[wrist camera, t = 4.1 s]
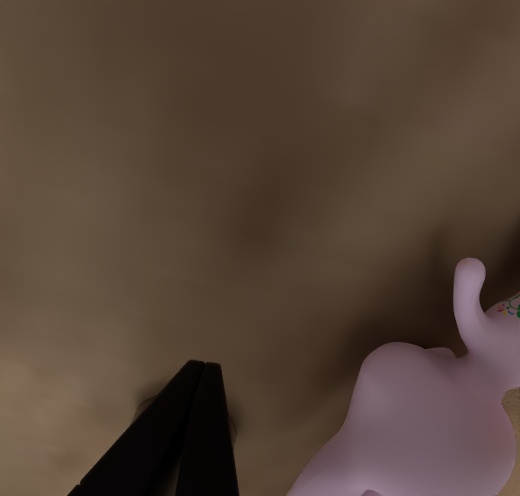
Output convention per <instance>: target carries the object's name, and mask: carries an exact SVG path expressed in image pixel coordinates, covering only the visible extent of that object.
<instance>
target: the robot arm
mask: <svg viewBox="0 0 520 496" xmlns="http://www.w3.org/2000/svg"><path fill="white" fill-rule="evenodd" d="M67 496H240V495H239V488H238V481H237V474H236V467H235V460H234V453H233V446H232V439H231V432H230V425H229V418H228V411H227V404H226V397H225V390H224V383H223V376H222V369H221V365H220V364H219V363H212V362H206V363H204V362H203V361H198V360H189V361H188V362H187V363H186V364H185V365H184V366H183V367H182V368H181V369H180V371H179V372H178V373H177V374H176V375H175V376H174V377H173V378H172V379H171V381H170V382H169V383H168V384H167V385H166V386H165V387H164V388H163V390H162V391H161V392H160V393H159V394H158V395H157V396H156V397H155V398H154V400H153V401H152V402H151V403H150V404H149V405H148V406H147V407H146V408H145V410H144V411H143V412H142V413H141V414H140V415H139V416H138V417H137V418H136V420H135V421H134V422H133V423H132V424H131V425H130V426H129V427H128V429H127V430H126V431H125V432H124V433H123V434H122V435H121V436H120V437H119V439H118V440H117V441H116V442H115V443H114V444H113V445H112V446H111V447H110V449H109V450H108V451H107V452H106V453H105V454H104V455H103V456H102V457H101V459H100V460H99V461H98V462H97V463H96V464H95V465H94V466H93V468H92V469H91V470H90V471H89V472H88V473H87V474H86V475H85V476H84V478H83V479H82V480H81V481H80V485H79V484H78V485H76V486H75V487H74V488H73V490H72V491H71V492H70V493H69V494H68V495H67Z"/></svg>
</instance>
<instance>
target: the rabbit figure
mask: <svg viewBox="0 0 520 496" xmlns="http://www.w3.org/2000/svg"><path fill="white" fill-rule="evenodd" d="M485 275H486V271H485V267H484V265H483V263H482V262H481V261H480V260H478V259H476V258H464V259H462V260H461V261H460V262H459V263H458V264H457V266H456V269H455V276H454V293H453V307H454V314H455V318H456V322H457V326H458V329H459V333H460V336H461V338H462V340H463V342H464V343H465V345H466V347H467V349H468V354H466V355H465V356H464V357H462V358H456V356H455V354H454V353H453V352H452V351H451V350H450V349H449V348H445V347H437V348H430V349H423V348H422V347H419V346H417V345H412V344H409V343H404V342H392V343H387V344H385V345H383V346H381V347H379V348H377V349H376V350H374V351H373V352H371V353H370V354H369V355H368V356H367V357H366V359H365V360H364V361H363V363H362V365H361V369H360V372H359V376H358V379H357V382H356V385H355V388H354V391H353V394H352V398H351V402H350V406H349V410H348V413H347V417H346V419H345V422H344V424H343V426H342V427H341V429H340V430H339V431H338V432H337V433H336V434H335V435H334V436H333V437H332V438H331V439H330V440H329V441H328V442H326V443H325V444H324V445H323V446H322V448H320V449H319V450H318V451H317V452H316V454H315V455H314V456H313V457H312V458H311V460H310V461H309V462H308V463H307V465H306V466H305V467H304V469H303V470H302V472H301V473H300V475H299V476H298V477H297V479H296V481H295V483H294V484H293V486H292V488H291V489H290V491H289V492H288V493H287V494H286V496H496V495H497V494H498V493H499V491H500V490H501V489H502V488H503V486H504V485H505V484H506V482H507V481H508V479H509V477H510V475H511V473H512V471H513V468H514V464H515V460H516V451H517V446H516V438H515V433H514V430H513V427H512V425H511V422H510V420H509V418H508V415H507V413H506V412H505V410H504V408H503V407H502V405H501V400H502V397H503V395H504V394H505V393H506V392H507V391H508V390H510V389H513V388H516V387H520V291H519V292H518V293H517V294H516V295H515V296H513V297H511V298H509V299H507V300H504V301H501V302H499V303H497V304H495V305H493V306H492V307H490V308H489V309H488V310H487V311H486V312H485V313H484V312H483V310H482V309H481V306H480V302H479V294H480V290H481V287H482V285H483V282H484V280H485Z"/></svg>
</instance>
